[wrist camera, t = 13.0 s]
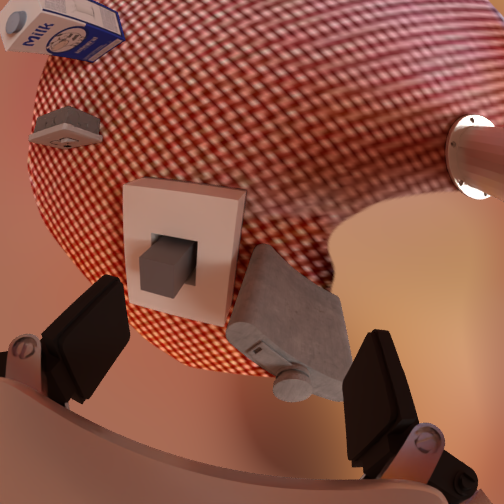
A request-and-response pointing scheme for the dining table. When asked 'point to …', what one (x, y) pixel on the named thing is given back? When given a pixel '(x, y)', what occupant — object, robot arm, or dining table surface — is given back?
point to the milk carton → (60, 28)
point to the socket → (191, 228)
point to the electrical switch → (66, 129)
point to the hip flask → (290, 329)
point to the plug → (167, 265)
